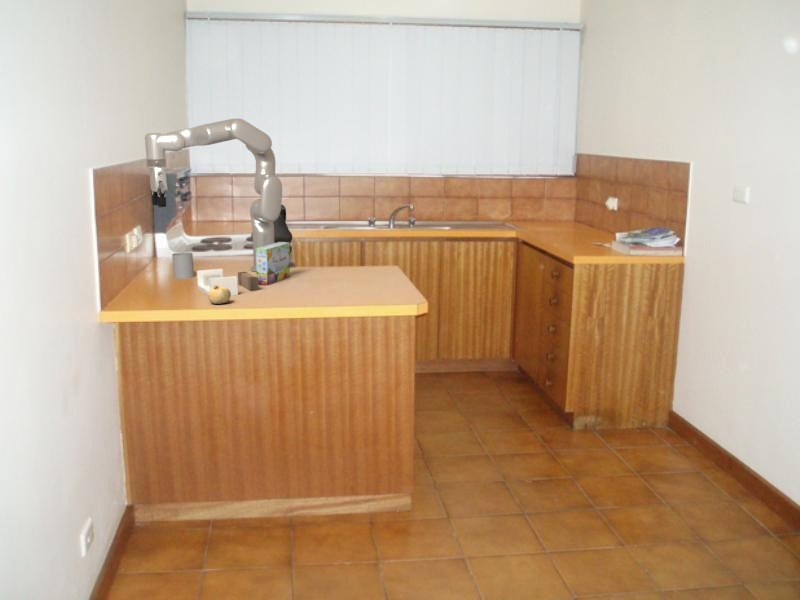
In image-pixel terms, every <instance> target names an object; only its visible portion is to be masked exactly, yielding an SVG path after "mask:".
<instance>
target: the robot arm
mask: <svg viewBox="0 0 800 600" xmlns="http://www.w3.org/2000/svg"><path fill="white" fill-rule="evenodd" d="M232 140H238V141H240V142H241V143H243V144H244V145H245V147H246V148H247V150H248V151H249V152H250V153H252V155H253V157H254V158H255V159H254V160H255V172H254V174H255V176H254V184H253V187H254V191H255V192H256V193H257V194H258V195H260V198H258V199H255V200H254V201H253V202H252V203H251V205H250V208H249V216H250V219H251V220H250V222H251V229H252V230H251V231H252V232H251V234H252V233H253V240H252V252H253V253H252V254H253V266H251V267H250V271H252V272H256V273H257V264H256V248H259V247H263V246H266V245H270V244H273V243H274V225H273V222H274V221H275V220H277V218H278V217H279V215H280V211H281V204H282V199H283V185H282V181H281V180H280V178H279V177H277V176H276V156H275V153H274V151H273V149H272V146H273V143H272V138H271V137H270V136H269V134H267V133H266V132H264V131H263V130H261V129H259V128H257V127H256V126H254V125H253V124H251V123H250V122H248V121H246V119H245V120H244V119H242V118H229V119H226V120H225V119H224V120H220V121H219V120H218V121H215V122H211V123H206V124H201V125H197V126H194V127H190V128H185V129H180V130H179V129H178V130H176V131H170V132H167V133H160V132H159V133H157V132H154V133H153V132H152V133H151V132H150V133H149V132H148V133H146V134H145V135H144V142H145V143H144V144H145V156H146V168H148V169H149V184H150V185H149V186H150V191H151V202H152V203H151V204H152V206H157V207H158V208H165V207H166V208H167V197H166V196H167V195H166V193H167V192H168V181H167V174H166V173H167V172H166V168H167V158H166V151H169V152H179V151H182V150H183V149H185V148H190V147H198V146H199V147H200V146H202V147H203V146H211V145H215V144H219V143H223V142H228V141H232Z"/></svg>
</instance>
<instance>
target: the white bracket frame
mask: <svg viewBox="0 0 800 600" xmlns="http://www.w3.org/2000/svg"><path fill="white" fill-rule="evenodd" d="M196 281H197V282H196V283H197V289H199V290H200V291H201V292H203V293H204V294H205V295H207V296H208V294H209V291H210V290H211V288H213V286H214V285H219V286H225V287H226V288H228V289H229V291H230V293H231V296H238V295H239V293H238V289H239V288H238V275H237V276H236V275H233V276H224V270H223V268H213V269H211V268H210V269H201V270H196Z"/></svg>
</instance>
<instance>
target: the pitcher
mask: <svg viewBox="0 0 800 600" xmlns="http://www.w3.org/2000/svg"><path fill="white" fill-rule="evenodd" d="M286 220H287V210H286V206H284V205H283V204H282V203H281V211H280V215H279V217H278V218H277V220H275V221H274V222H273V225H274V243H277V242H289V243H290V244H291V243H292V239H293V234H292V232H291V231H290V229H289V227H288V225H287V222H286ZM250 236H251V240H252V241H253V233H252V232H251V235H250Z"/></svg>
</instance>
